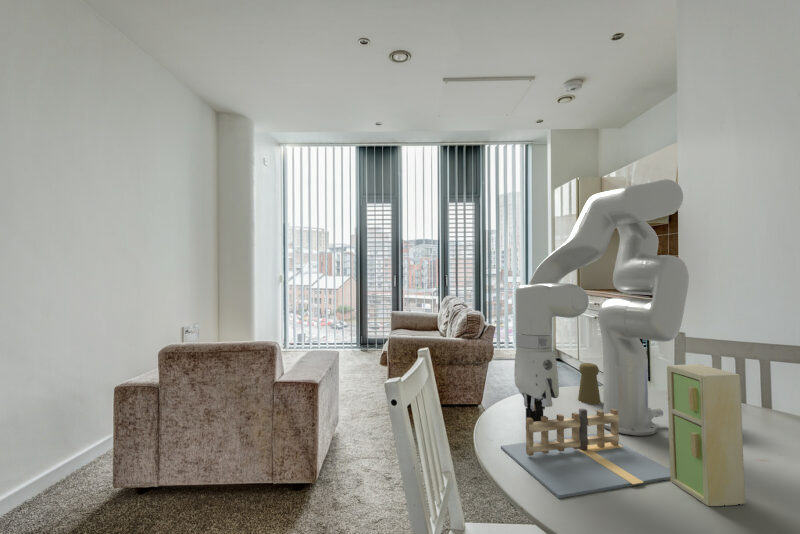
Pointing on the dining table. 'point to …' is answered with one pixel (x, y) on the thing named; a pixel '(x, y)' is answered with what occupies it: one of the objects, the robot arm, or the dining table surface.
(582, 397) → the cork
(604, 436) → the fence fixed
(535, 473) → the card
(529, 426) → the fence gate
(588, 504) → the dining table surface
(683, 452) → the toy refrigerator
